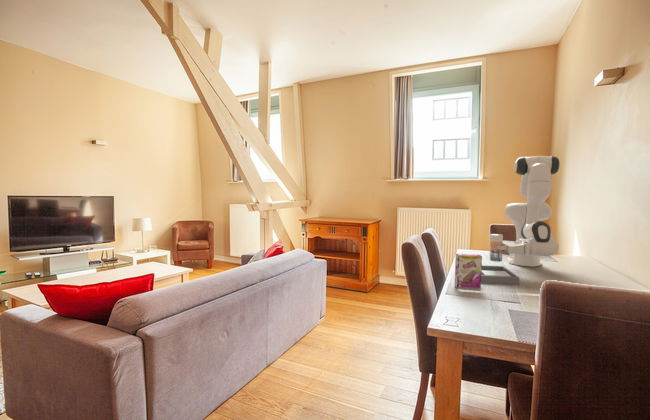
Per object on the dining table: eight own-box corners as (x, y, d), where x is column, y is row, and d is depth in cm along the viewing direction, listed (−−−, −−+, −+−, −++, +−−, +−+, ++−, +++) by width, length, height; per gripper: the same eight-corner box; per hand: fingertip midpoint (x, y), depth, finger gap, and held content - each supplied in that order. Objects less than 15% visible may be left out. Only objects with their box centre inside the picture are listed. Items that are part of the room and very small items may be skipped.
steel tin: (488, 259, 184) (488, 233, 183) (500, 259, 183) (500, 234, 182) (491, 261, 178) (492, 235, 177) (503, 261, 177) (504, 235, 176)
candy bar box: (457, 289, 160) (458, 255, 159) (454, 285, 165) (454, 253, 164) (481, 289, 159) (482, 255, 158) (477, 286, 164) (478, 253, 163)
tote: (469, 272, 190) (469, 264, 190) (503, 274, 187) (503, 266, 186) (479, 284, 167) (479, 275, 167) (518, 286, 163) (519, 277, 163)
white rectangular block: (480, 276, 178) (480, 270, 178) (504, 277, 175) (504, 271, 175) (485, 281, 168) (485, 274, 168) (510, 283, 166) (511, 276, 165)
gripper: (515, 238, 187) (489, 237, 190) (530, 244, 167) (500, 243, 170) (515, 249, 187) (489, 248, 190) (529, 256, 168) (500, 255, 170)
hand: (494, 246), depth 180 cm, fingers closed on steel tin, 6 cm apart
